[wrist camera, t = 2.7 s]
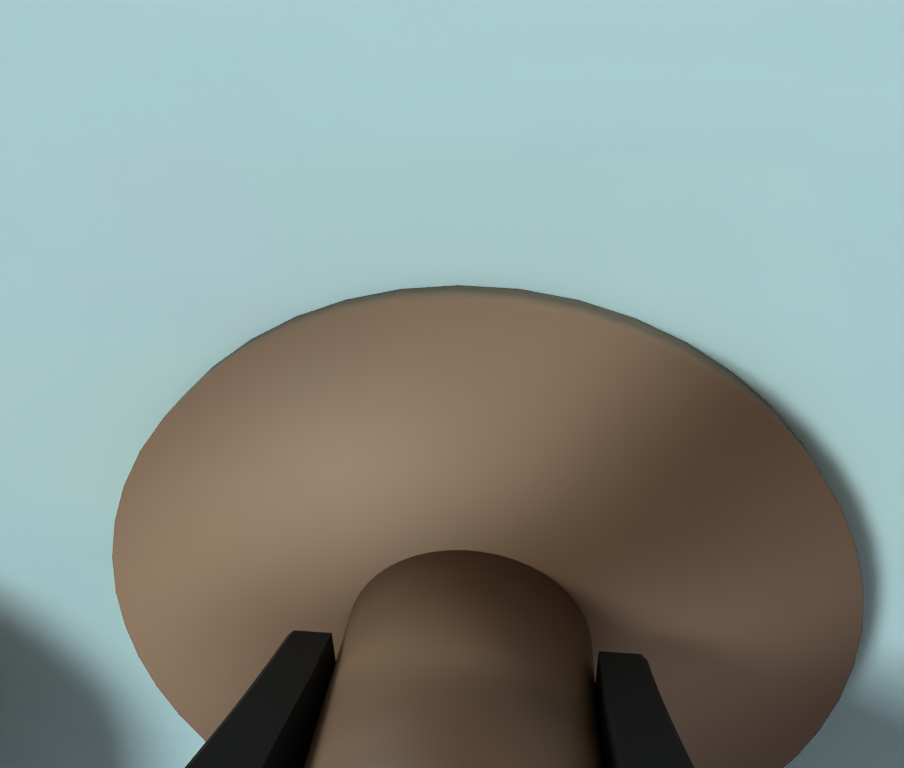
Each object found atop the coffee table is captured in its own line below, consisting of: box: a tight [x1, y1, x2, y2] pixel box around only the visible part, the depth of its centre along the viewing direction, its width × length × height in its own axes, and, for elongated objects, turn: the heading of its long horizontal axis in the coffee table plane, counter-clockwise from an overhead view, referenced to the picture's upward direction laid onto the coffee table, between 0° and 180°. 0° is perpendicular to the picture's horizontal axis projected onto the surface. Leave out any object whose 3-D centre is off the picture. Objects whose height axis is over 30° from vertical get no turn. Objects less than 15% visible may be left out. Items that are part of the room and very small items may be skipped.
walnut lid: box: [112, 285, 863, 768], centre depth 10 cm, size 12×12×5 cm
